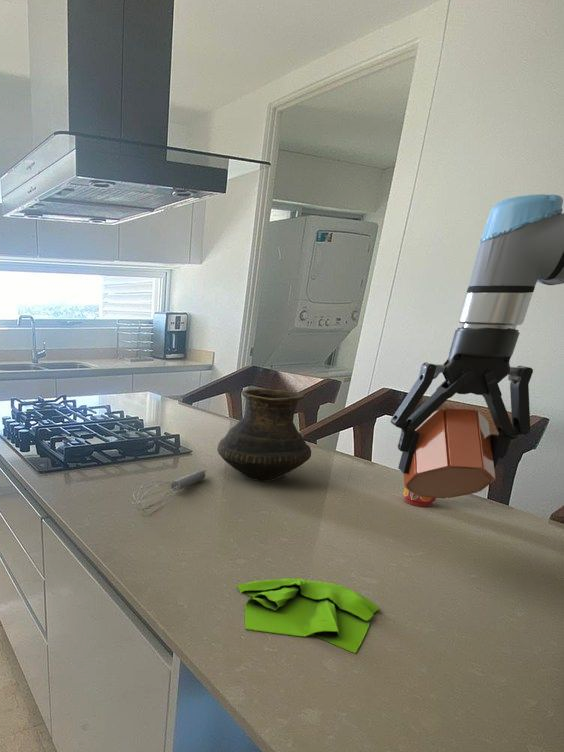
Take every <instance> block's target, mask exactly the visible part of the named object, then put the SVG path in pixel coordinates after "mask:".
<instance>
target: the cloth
mask: <svg viewBox="0 0 564 752" xmlns="http://www.w3.org/2000/svg"><path fill="white" fill-rule="evenodd" d="M236 588H238V591H239V593H240V594H242V593H244V594H245V595H247V596H249V599H247V601H246V603H245V605H244V630H247V631H248V630H249V631H253V632H254V631H255V632H261V633H262V632H263V633H269V634H277V635H283V636H284V635H285V636H292V637H302V638H306V637H308V636H313V637H314V638H318V639H321V640H323V641H326V642H327V643H329V644H332V645H334V646H336V647H338V648H340V649H343V650H345V651H348V652H350V653H353V654H356V653H357V652H358V651H359V648H360V646H361V644H362V643H363V640H364V638H366V637H365V636H366V635H367V632H368V630H369V627H370V626H371V622H372V617H374V613H376V612H377V611H379V610H380V607H379V606H378V605H377V604H376V603H374V602H373V601H372V600H370V599H368V598H366V597H365V596H364V595H362V594H360V593H358V592H356V591H355V590H353V589H351V588H348V587H346V586H344V585H340V584H338V583H334V582H333V583H332V582H325V581H322V580H321V581H320V580H315V581H314V580H308V579H304V578H291V577H289V578H287V577H286V578H279V579H278V578H277V579H275V578H274V579H273V578H272V579H266V580H255V581H250V582H247V583H246V582H245V583H241V584H237V585H236ZM263 596H265V597H263ZM260 597H261V598H260Z"/></svg>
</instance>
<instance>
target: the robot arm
mask: <svg viewBox="0 0 564 752" xmlns="http://www.w3.org/2000/svg"><path fill="white" fill-rule="evenodd" d="M563 204H564V199H563V197H562V196H561V195H559V194H545V193H540V194H525V195H518V196H513V197H509V198H505V199H503V200H500V201H499V202H497V203H496V204H495V205H494V206H493V207H492V209H491V210H490V212H489V214H488V218H487V220H486V224H485V226H484V230H483V233H482V236H481V238H480V239H479V241H478V243H479V245H478V249H477V253H476V255H475V260H474V264H473V267H472V270H471V271H472V272H471V274H470V275H471V276H470V279H469V282H468V286H467V289H466V293H465V296H464V299H463V303H462V307H461V310H460V314H459V317H458V323H459V324H461V327H457V329H455V331H454V334H453V337H452V341H451V345H450V349H449V352H448V357H447V359H446V361H444V363H443V364H441V363H431V362H424V363H422V364H421V366H420V370H419V374H418V377H417V379H416V381H415V382H414V383H413V385H412V386H411V388H410V389H409V391H408V392H407V394H406V396H405V397H404V399H403V401H402V402H401V403H400V405H399V406H398V408H397V410H396V411H395V412H394V414H393V416H392V417H391V419H390V423H391V424H392V425H393V426H395V427H396V428H399V429H400V430H401V432H400V436H399V439H398V444H397V449H398V451H400V452H401V456H400V459H399V463H398V468H397V469H398V470H399V471H400V472H401V473H402V474H404V473H405V474H409V470H410V466H411V462H412V459H413V455H414V452H415V448H416V445H417V441H418V438H419V433H418V432H416V431H415V430H416V429H417V428H418V427H419V426H420V425H421V424H422V423H423V422H424V421H425V420H426V419H427V418H428V417H429V416H430V415H431V414H432V413H434V412H435V411H437V410H439V408H440V407H441V406H442V405H443V404H444V403H445V402H447V400H449V399H451V398H452V397H454V396H455V395H456V394H457V395H468V394H473V395H475V396H482V398H483V399H484V401H485V404H486V406H487V409H488V411H489V414H490V416H491V418H492V421H493V423H494V426H495V428H496V431H497V433H498V434H494V433H490V439H491V447H492V455H493V463H494V470H495V469H496V466H497V464H498V460H499V459H504V458H505V457H506V456H507V453H508V449H509V446H510V444H511V442H512V440H515V439H518V436H521V435H523V436H526V435H528V434H530V432H531V411H530V410H531V409H530V388H529V383H530V381H531V378H532V376H533V373H534V369H533V367H529V366H524V365H518V366H511V365H510V360H511V358H512V356H513V355H514V352H515V349H516V345H517V342H518V339H519V336H520V334H521V332H520V331H519V329H517V327H518V326H521V325H522V324H524V322H525V318H526V316H527V312H528V309H529V306H530V303H531V300H532V297H533V293H534V292H535V289H536V285H537V283H539V284H543V285H546V286H555V285H563V284H564V212H563ZM441 373H442V375H443V378H444V381H443V382H442V383H441V384H440V385H439V386H438V387H437V388H436V390H435V391H434V392H433V393H432V394H431V395H430V396H429V397H428V398H427V399H426V400H425V401H424V402H422V404H421V405H419V407H417V406H418V404H419V403H420V401H421V400H422V398H423V396H424V395H425V393H426V392H427V391H428V389H429V388H430V386H431V385H432V383H433V380H436V379H438V377H439V375H440V374H441ZM506 377H507V380H508V381H509V382H510V383H509V390H510V391H509V393H510V409H511V410H510V411H511V418H510V416H509V412H508V410H507V408H506V405H505V403H504V400H503V397H502V391H501V389H500V386H499V383H500V382H501V381H502V380H503V379H505V378H506ZM416 407H417V409H416ZM415 409H416V410H415Z"/></svg>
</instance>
